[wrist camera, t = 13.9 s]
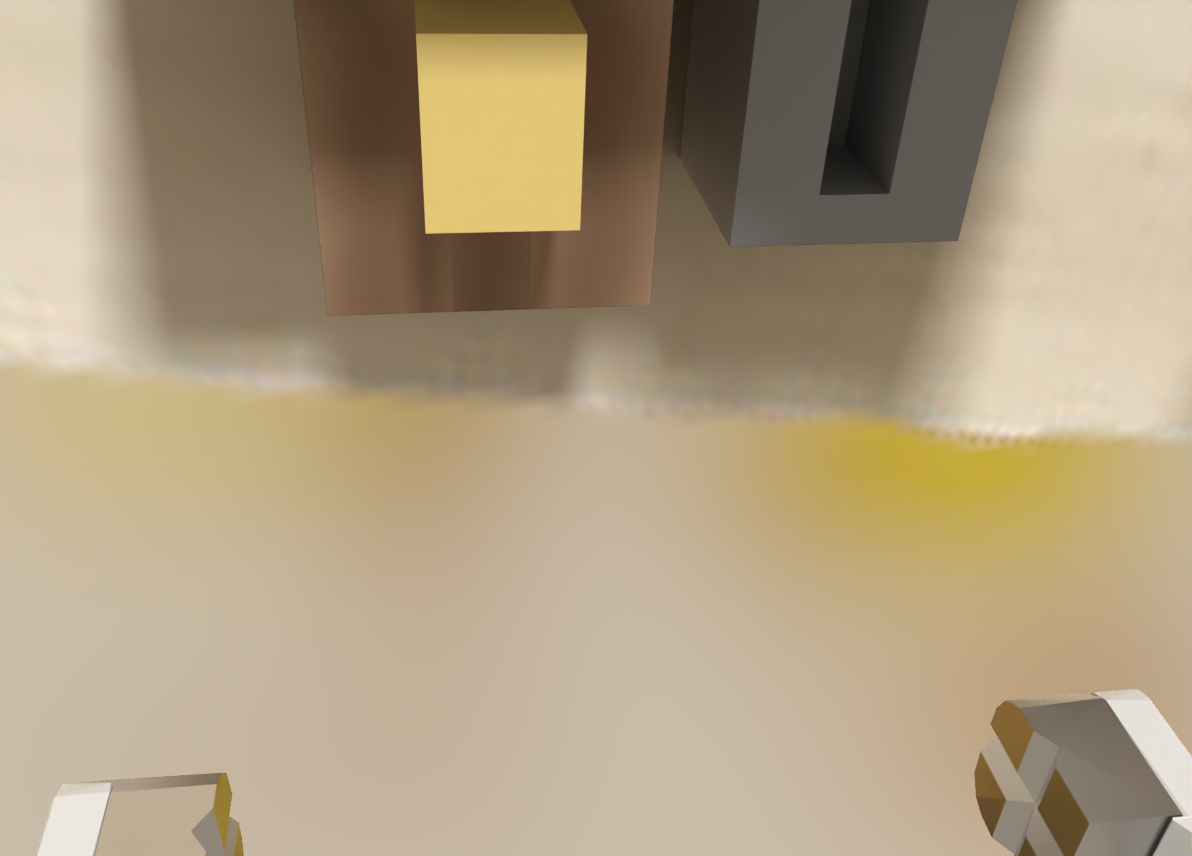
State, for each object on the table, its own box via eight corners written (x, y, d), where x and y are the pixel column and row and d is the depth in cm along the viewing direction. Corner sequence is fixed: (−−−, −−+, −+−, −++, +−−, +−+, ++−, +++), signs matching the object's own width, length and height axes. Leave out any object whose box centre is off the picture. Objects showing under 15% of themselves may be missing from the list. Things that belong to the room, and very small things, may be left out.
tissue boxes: (812, -299, 35) (1107, -267, 21) (751, 180, 44) (926, 440, 30) (79, -334, 32) (-188, -325, 17) (175, 190, 41) (52, 486, 26)
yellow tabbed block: (549, -41, 33) (587, 34, 26) (546, 125, 36) (579, 230, 29) (412, -43, 32) (416, 33, 26) (420, 126, 35) (425, 233, 28)
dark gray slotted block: (928, -121, 39) (1035, -76, 32) (875, 155, 44) (957, 240, 38) (705, -126, 38) (769, -81, 31) (679, 157, 43) (729, 246, 37)
